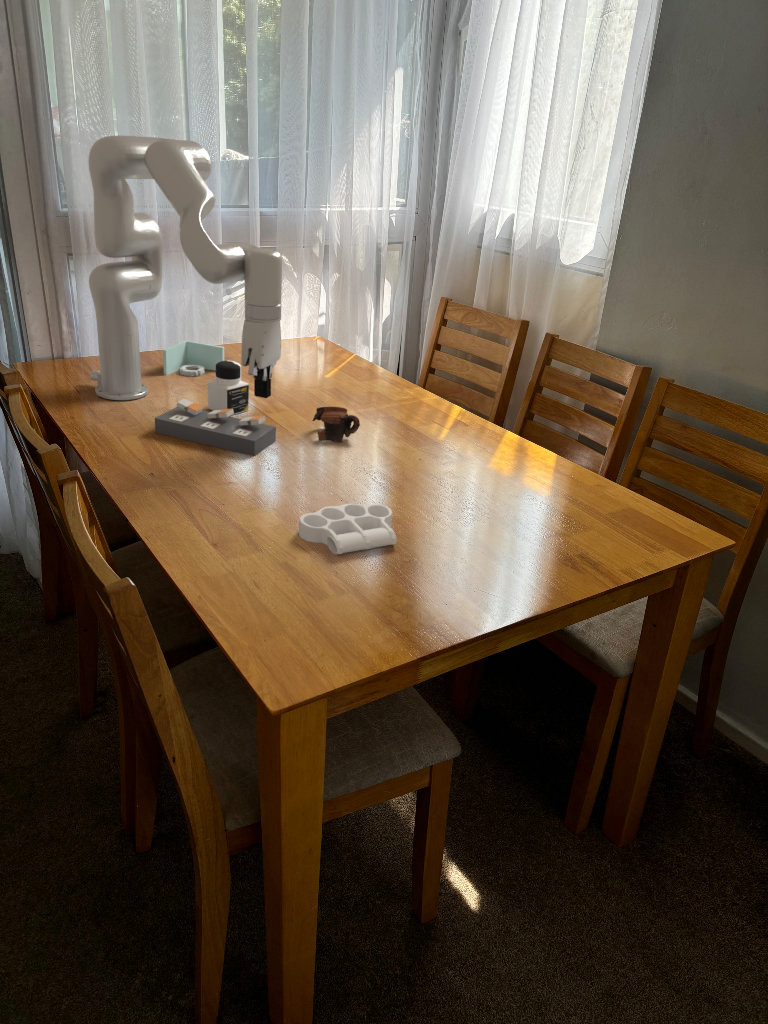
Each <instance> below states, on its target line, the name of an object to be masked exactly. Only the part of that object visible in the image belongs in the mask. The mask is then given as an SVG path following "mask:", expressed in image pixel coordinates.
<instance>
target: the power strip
mask: <svg viewBox="0 0 768 1024" xmlns="http://www.w3.org/2000/svg"><path fill="white" fill-rule="evenodd" d="M210 412H211V411H206V410H202V412H200V413H199V414H197V415H193V414H191V413H189V412H187V411H185V410H184V409H182V408H180V407H178V406H176V407H173V408H171V409H170V410H168V411H166V412H164V413H161V414H160V415H158V416H156V417H154V433H155V434H159V435H163V436H167V437H171V438H176V439H181V440H185V441H189V442H193V443H198V444H201V445H206V446H210V447H215V448H219V449H224V450H227V451H230V452H231V451H232V452H236V453H240V454H244V455H249V456H252V457H256V456H257V455H258V454H260V453H261V452H262V451H263V450H265V449H266V448H268V447H270V446H271V445H273V443H276V441H277V439H276V435H277V426H274V425H269V424H265V423H261V424H257V425H240V424H239V421H240V420H242V419H243V418H239V417H238V418H237V417H233V416H228V417H223V418H208V415H207V414H208V413H210Z"/></svg>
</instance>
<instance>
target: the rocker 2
mask: <svg viewBox="0 0 768 1024" xmlns="http://www.w3.org/2000/svg"><path fill="white" fill-rule="evenodd" d="M209 412H210V413H208V414H207V415H208V418H223V417H228V416H230V415H231V416H233V415H232V414H234V411H233V409H223V410H214V411H212V410H211V411H209ZM231 416H230V417H231Z"/></svg>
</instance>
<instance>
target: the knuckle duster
mask: <svg viewBox="0 0 768 1024" xmlns="http://www.w3.org/2000/svg"><path fill="white" fill-rule="evenodd" d="M392 517H393V512H392V509H391V508H390V507H389V506H386V505H385V504H381V503H377V502H376V503H375V502H373V503H369V504H359V503H344V504H341V505H334V506H333V505H327V506H325V507H322V508H321V507H320V508H319V510H317V511H315V512H308V513H307V512H306V513H304V514H301V515H300V517H299V520H298V521H299V522H298V523H299V524H298V535H299V537H300V539H302V540H304V541H306V542H309V543H314V544H315V543H317V544H320V543H321V544H324V545H326V546H327V547H328V549H329V551H330V552H331V553H332V554H334V555H342V554H346V553H350V552H351V553H353V552H357V551H362V550H364V551H365V550H370V549H375V548H381V547H385V546H390V545H391V546H393V545H396V544H397V543H398V542H397V535H396V533H395V531H394V529H393V528H391V525H392Z"/></svg>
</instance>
